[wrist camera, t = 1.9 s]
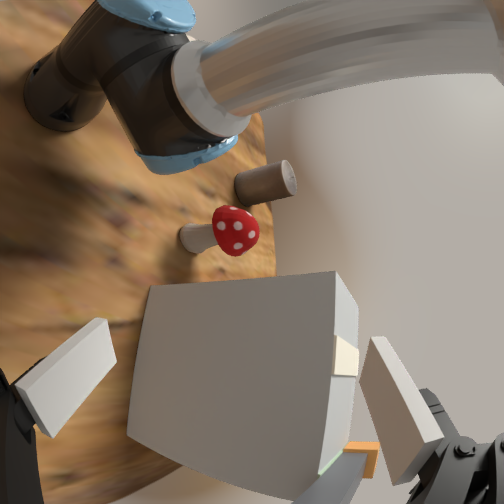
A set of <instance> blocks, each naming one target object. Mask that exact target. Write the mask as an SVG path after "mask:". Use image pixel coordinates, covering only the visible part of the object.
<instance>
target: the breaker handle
mask: <svg viewBox="0 0 504 504" xmlns="http://www.w3.org/2000/svg"><path fill="white" fill-rule="evenodd" d="M379 449H380V442H357V441H356V442H355V441H350V442H349V443H348V444H347V445H346V446H345V448H344V449H343V453H342V454H341V455H340V456H339V457H338V458H337V459H336V460H335V462H334V463H333V464H332V465H331V466H330V467H329V468H328V469H327V470H326V471H325V472H324V473H323V474H322V475H321V476H320V477H319V478H318V479H317V480H316V481H315V482H314V483H313V484H312V485H311V486H310V487H309V488H308V489H307V490H306V491H305V492H304V493H303V494H302V495H300V496H299V497H298V498H297V499H296V500H295V501H294V502H293V503H291V504H349V503H350V501H351V500H352V498H353V496H354V494H355V492H356V490H357V488H358V486H359V484H360V481H361V480H362V478H373V474H374V472H375V469H376V465H377V460H378V454H379Z"/></svg>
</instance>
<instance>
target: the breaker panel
mask: <svg viewBox="0 0 504 504" xmlns="http://www.w3.org/2000/svg"><path fill="white" fill-rule="evenodd" d="M358 312H359V309H358V305H357V304H356V302H355V301H354V299H353V297H352V296H351V294H350V293H349V291H348V289H347V288H346V286H345V284H344V283H343V281H342V280H341V278H340V277H339V275H338V273H337V272H336V271H329V272H319V273H309V274H299V275H288V276H277V277H266V278H254V279H242V280H229V281H215V282H201V283H186V284H171V285H154V286H151V287H150V292H149V296H148V300H147V305H146V309H145V314H144V319H143V324H142V329H141V334H140V339H139V345H138V350H137V356H136V362H135V369H134V375H133V382H132V389H131V397H130V405H129V414H128V424H127V436H129V437H130V438H132V439H134V440H136V441H137V442H139V443H141V444H142V445H144V446H146V447H148V448H150V449H151V450H153V451H155V452H157V453H159V454H161V455H163V456H165V457H167V458H169V459H171V460H173V461H175V462H177V463H179V464H181V465H184V466H186V467H188V468H190V469H193V470H195V471H197V472H200V473H202V474H205V475H207V476H210V477H212V478H215V479H218V480H220V481H223V482H226V483H229V484H232V485H235V486H238V487H241V488H244V489H247V490H251V491H254V492H258V493H261V494H265V495H269V496H273V497H277V498H281V499H286V500H291V501H295V500H296V499H297V498H298V497H299V496H300V495H302V494H303V493H304V492H305V491H306V490H307V489H308V488H309V487H310V486H311V485H312V484H313V483H314V482H315V481H316V480H317V479H318V478H319V477H320V476H321V475H322V474H323V473H324V472H325V471H326V470H327V469H328V468H329V467H330V466H331V465H332V464H333V463H334V462H335V460H336V459H337V458H338V457H339V456H340V455H341V454H342V453H343V449H344V448H345V446H346V445H347V444H348V439H349V432H350V425H351V417H352V410H353V401H354V391H355V379H356V376H357V375H358V364H359V350H358V349H357V347H358Z"/></svg>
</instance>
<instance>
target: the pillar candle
mask: <svg viewBox="0 0 504 504" xmlns="http://www.w3.org/2000/svg"><path fill="white" fill-rule="evenodd" d="M235 189H236V192H237V195H238V198H239V200H240V202H241V203H242V204H243V205H244V206H247V207H249V206H251V205H256V204H260V203H264V202H268V201H273V200H277V199H282V198H286V197H290V196H294V195H295V194H296V191H297V185H296V179H295V175H294V172H293V169H292V167H291V166H290V164H289V163H288V162H287V161H286V160H282V161H279V162H276V163H272V164H269V165H265V166H262V167H258V168H255V169H252V170H248V171H245V172H242V173H239V174H238V175H237V176H236V178H235Z"/></svg>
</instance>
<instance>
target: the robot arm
mask: <svg viewBox="0 0 504 504" xmlns="http://www.w3.org/2000/svg"><path fill="white" fill-rule="evenodd" d="M195 23H196V18H195V12H194V10H193V8H192V7H191V5H190V4H189V2H188V1H187V0H95V1H94V2H93V3H92V4H91V5H90V6H89V8H88V9H87V10H86V11H85V12H84V13H83V15H82V16H81V17H80V18H79V19H78V21H77V22H76V23H75V24H74V26H73V27H72V28H71V30H70V31H69V32H68V34H67V35H66V36H65V38H64V39H63V40H62V42H61V43H60V44H59V45H58V46H56V47H55V48H54V49H52V50H51V51H50V52H49V53H47V54H46V55H45V56H43V57H42V58H41V59H40V60H39V61H38V62H37V63H36V64H35V66H34V67H33V69H32V70H31V72H30V74H29V76H28V78H27V80H26V83H25V87H24V100H25V104H26V107H27V109H28V111H29V112H30V114H31V115H32V117H33V118H34V119H35V120H36V121H37V122H39V123H40V124H42V125H43V126H45V127H47V128H50V129H53V130H57V131H72V130H76V129H79V128H81V127H83V126H85V125H86V124H88V123H89V122H90V121H91V120H92V119H93V118H94V117H95V116H96V115H97V114H98V113H99V112H100V111H101V109H102V108H103V106H104V104H105V102H106V100H107V99H108V101H109V103H110V105H111V107H112V109H113V110H114V112H115V114H116V116H117V118H118V120H119V122H120V124H121V126H122V127H123V129H124V131H125V133H126V135H127V137H128V139H129V140H130V142H131V144H132V146H133V148H134V151H135V153H136V154H137V155H138V156H139V157H141V159H142V160H143V162H144V163H145V165H146V166H147V168H148V169H149V170H150V171H151V172H153V173H155V174H159V175H169V174H175V173H179V172H183V171H186V170H189V169H192V168H194V167H196V166H197V165H198V164H202V163H206V162H209V161H211V160H213V159H215V158H217V157H219V156H221V155H222V154H224V153H226V152H227V151H228V150H230V149H231V148H232V147H233V146H234V145H235V144H236V142H237V140H238V135H237V134H239V133H241V132H242V131H243V130H244V129H245V128H246V127H247V125H248V123H249V121H250V118H251V114H254V113H257V112H260V111H263V110H266V109H269V108H272V107H275V106H278V105H281V104H285V103H288V102H291V101H295V100H298V99H302V98H306V97H309V96H313V95H316V94H321V93H325V92H329V91H333V90H338V89H342V88H347V87H352V86H356V85H362V84H367V83H372V82H378V81H385V80H391V79H398V78H405V77H414V76H425V75H437V74H456V73H458V74H459V73H490V74H493V75H494V76H495V77H496V78H497V79H498V80H499V81H500V82H501V83H502V85H503V86H504V0H306V1H303V2H300V3H297V4H295V5H292V6H289V7H286V8H284V9H281V10H279V11H277V12H274V13H272V14H269V15H267V16H265V17H263V18H260V19H258V20H256V21H254V22H252V23H249V24H247V25H245V26H243V27H241V28H240V29H237V30H235V31H233V32H232V33H230V34H228V35H226V36H224V37H223V38H221V39H219V40H217V41H215V42H213V43H210V42H206V41H200V40H196V41H191V42H189V40H188V38H187V36H186V34H185V33H186V32H188V31H190V30H191V29H192V27H193V26H194V25H195ZM116 362H117V361H116V357H115V353H114V349H113V345H112V341H111V336H110V332H109V328H108V323H107V319H103V318H97V317H95V318H94V319H93V320H92V321H90V322H89V323H88V324H87V325H85V326H84V327H83V328H82V329H80V330H79V331H78V332H76V333H75V334H74V335H73V336H72V337H70V338H69V339H68V340H67V341H65V342H64V343H63V344H62V345H60V346H59V347H58V348H57V349H56V350H54V351H53V352H52V353H51V354H50V355H48V356H46V357H44V358H42V359H40V360H39V361H37V362H36V363H35V364H34V366H32V367H30V368H29V370H27V371H26V372H24V373H23V374H22V375H21V376H20V377H19V378H17V379H16V380H15V381H14V382H13V383H12V384H11V385H9V383H8V381H7V379H6V377H5V375H4V373H3V371H2V369H1V368H0V504H44V501H43V496H42V491H41V485H40V478H39V471H38V462H37V451H36V435H35V429H34V428H33V425H34V424H35V423H36V424H37V426H38V427H39V429H40V430H41V432H42V433H44V434H46V435H47V436H49V437H51V438H54V437H55V436H56V434H57V433H58V432H59V431H60V429H61V428H62V427H63V426H64V424H65V423H66V422H67V421H68V419H69V418H70V417H71V416H72V415H73V413H74V412H75V411H76V410H77V408H78V407H79V406H80V405H81V404H82V402H83V401H84V400H85V399H86V398H87V396H88V395H89V394H90V393H91V392H92V391H93V389H94V388H95V387H96V386H97V385H98V383H99V382H100V381H101V380H102V379H103V378H104V376H105V375H106V374H107V373H108V372H109V371H110V369H111V368H112V367H113V366H114V365H115V364H116ZM359 383H360V386H361V389H362V391H363V394H364V397H365V400H366V403H367V406H368V409H369V411H370V414H371V417H372V420H373V423H374V426H375V429H376V432H377V435H378V439H379V442H380V445H381V448H382V451H383V454H384V458H385V461H386V464H387V468H388V471H389V474H390V478H391V482H392V485H393V486H395V485H399V484H403V483H407V482H410V481H412V479H413V478H414V477H415V476H416V475H417V474H418V475H419V478H420V481H419V482H418V483H417V484H416V486H415V487H414V488H413V489H412V490H411V491H410V492H409V494H411V493H412V492H413V493H412V494H411V496H410V498H409V500H408V502H407V503H406V504H504V433H501V434H500V435H498V436H497V438H496V439H495V440H494V442H493V443H486V444H476V442H475V441H474V440H473V439H471V438H469V437H465V436H460V435H459V433H458V431H457V430H456V428H455V426H454V425H453V423H452V421H451V420H450V418H449V416H448V415H447V413H446V412H445V410H444V408H443V406H442V405H440V402H439V400H438V398H437V397H436V395H435V394H433V393H432V392H431V391H430V390H428V389H427V388H426V389H421V390H418V389H417V387H416V385H415V384H414V382H413V380H412V379H411V377H410V375H409V374H408V372H407V370H406V369H405V367H404V365H403V364H402V362H401V361H400V359H399V357H398V356H397V355H396V353H395V351H394V350H393V348H392V346H391V345H390V343H389V342H388V340H387V339H386V337H385V336H380V337H370V341H369V346H368V350H367V354H366V358H365V362H364V366H363V370H362V373H361V377H360V380H359Z"/></svg>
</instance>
